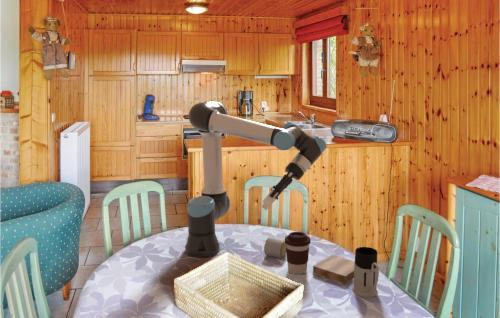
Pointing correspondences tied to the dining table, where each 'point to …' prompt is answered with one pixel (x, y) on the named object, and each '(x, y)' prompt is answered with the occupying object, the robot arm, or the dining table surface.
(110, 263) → the dining table surface
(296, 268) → the coffee cup
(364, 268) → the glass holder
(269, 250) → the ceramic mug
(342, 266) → the walnut slab
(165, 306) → the dining table surface
